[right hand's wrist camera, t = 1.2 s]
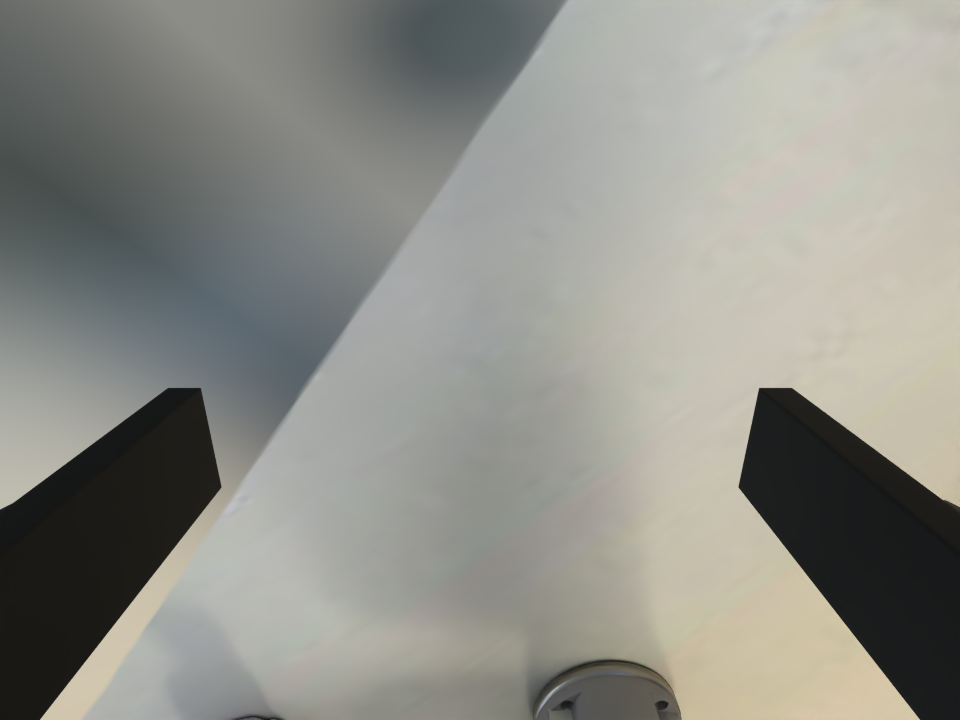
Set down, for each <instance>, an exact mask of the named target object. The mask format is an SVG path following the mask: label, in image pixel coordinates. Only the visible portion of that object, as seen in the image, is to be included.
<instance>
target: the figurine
mask: <svg viewBox="0 0 960 720" xmlns="http://www.w3.org/2000/svg"><path fill="white" fill-rule="evenodd" d="M240 720H262V719H260V718H255V717H251V718H244V719H240ZM272 720H276V719H272Z"/></svg>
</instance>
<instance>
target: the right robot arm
mask: <svg viewBox="0 0 960 720" xmlns="http://www.w3.org/2000/svg"><path fill="white" fill-rule="evenodd" d="M220 489H221V482H220V478H219V473H218V468H217V464H216V459H215V454H214V449H213V445H212V440H211V435H210V430H209V425H208V420H207V416H206V411H205V406H204V401H203V397H202V392H201V388H168V389H166V390H165V391H164V392H162V393H161V394H159V395H158V396H157V397H155V398H154V399H153V400H151V401H150V402H149V403H147V404H146V405H145V406H143V407H142V408H141V409H139V410H138V411H137V412H135V413H134V414H133V415H131V416H130V417H129V418H127V419H126V420H124V421H123V422H122V423H120V424H119V425H118V426H116V427H115V428H114V429H112V430H111V431H110V432H108V433H107V434H106V435H104V436H103V437H102V438H100V439H99V440H98V441H96V442H95V443H93V444H92V445H91V446H89V447H88V448H87V449H85V450H84V451H83V452H81V453H80V454H79V455H77V456H76V457H75V458H73V459H72V460H71V461H69V462H68V463H67V464H65V465H64V466H62V467H61V468H60V469H58V470H57V471H56V472H54V473H53V474H52V475H50V476H49V477H48V478H46V479H45V480H44V481H42V482H41V483H40V484H38V485H37V486H36V487H34V488H33V489H32V490H30V491H29V492H28V493H26V494H25V495H23V496H22V497H21V498H19V499H18V500H17V501H15V502H14V503H13V504H10V505H8V506H6V507H4V508H2V509H0V720H40V719H41V718H42V716H43V715H44V714H45V712H46V711H47V710H48V709H49V707H50V706H51V705H52V704H53V702H54V701H55V700H56V698H57V697H58V696H59V695H60V693H61V692H62V691H63V689H64V688H65V687H66V686H67V684H68V683H69V682H70V680H71V679H72V678H73V677H74V675H75V674H76V673H77V672H78V670H79V669H80V668H81V666H82V665H83V664H84V663H85V661H86V660H87V659H88V657H89V656H90V655H91V654H92V652H93V651H94V650H95V648H96V647H97V646H98V645H99V643H100V642H101V641H102V640H103V638H104V637H105V636H106V634H107V633H108V632H109V631H110V629H111V628H112V627H113V625H114V624H115V623H116V622H117V620H118V619H119V618H120V616H121V615H122V614H123V613H124V611H125V610H126V609H127V608H128V606H129V605H130V604H131V602H132V601H133V600H134V599H135V597H136V596H137V595H138V593H139V592H140V591H141V590H142V588H143V587H144V586H145V584H146V583H147V582H148V581H149V579H150V578H151V577H152V576H153V574H154V573H155V572H156V570H157V569H158V568H159V567H160V565H161V564H162V563H163V561H164V560H165V559H166V558H167V556H168V555H169V554H170V553H171V551H172V550H173V549H174V547H175V546H176V545H177V544H178V542H179V541H180V540H181V538H182V537H183V536H184V535H185V533H186V532H187V531H188V529H189V528H190V527H191V526H192V524H193V523H194V522H195V521H196V519H197V518H198V517H199V515H200V514H201V513H202V512H203V510H204V509H205V508H206V506H207V505H208V504H209V503H210V501H211V500H212V499H213V498H214V496H215V495H216V494H217V492H218V491H219V490H220ZM739 489H740V490H741V491H742V492H743V494H744V495H745V496H746V498H747V499H748V500H749V501H750V503H751V504H752V505H753V506H754V508H755V509H756V510H757V512H758V513H759V514H760V515H761V517H762V518H763V519H764V521H765V522H766V523H767V524H768V526H769V527H770V528H771V529H772V531H773V532H774V533H775V535H776V536H777V537H778V538H779V540H780V541H781V542H782V544H783V545H784V546H785V547H786V549H787V550H788V551H789V553H790V554H791V555H792V556H793V558H794V559H795V560H796V561H797V563H798V564H799V565H800V567H801V568H802V569H803V570H804V572H805V573H806V574H807V576H808V577H809V578H810V579H811V581H812V582H813V583H814V585H815V586H816V587H817V588H818V590H819V591H820V592H821V593H822V595H823V596H824V597H825V599H826V600H827V601H828V602H829V604H830V605H831V606H832V608H833V609H834V610H835V611H836V613H837V614H838V615H839V617H840V618H841V619H842V620H843V622H844V623H845V624H846V625H847V627H848V628H849V629H850V631H851V632H852V633H853V634H854V636H855V637H856V638H857V640H858V641H859V642H860V643H861V645H862V646H863V647H864V648H865V650H866V651H867V652H868V654H869V655H870V656H871V657H872V659H873V660H874V661H875V663H876V664H877V665H878V666H879V668H880V669H881V670H882V672H883V673H884V674H885V675H886V677H887V678H888V679H889V680H890V682H891V683H892V684H893V686H894V687H895V688H896V689H897V691H898V692H899V693H900V695H901V696H902V697H903V698H904V700H905V701H906V702H907V704H908V705H909V706H910V707H911V709H912V710H913V711H914V712H915V714H916V715H917V716H918V718H919V719H920V720H960V507H958V506H956V505H954V504H952V503H950V502H948V501H946V500H942V499H941V498H939V497H938V496H937V495H935V494H934V493H933V492H931V491H930V490H928V489H927V488H926V487H924V486H923V485H922V484H920V483H919V482H918V481H916V480H915V479H914V478H912V477H911V476H910V475H908V474H907V473H906V472H904V471H903V470H902V469H900V468H899V467H898V466H896V465H895V464H893V463H892V462H891V461H889V460H888V459H887V458H885V457H884V456H883V455H881V454H880V453H879V452H877V451H876V450H875V449H873V448H872V447H871V446H869V445H868V444H867V443H865V442H864V441H862V440H861V439H860V438H858V437H857V436H856V435H854V434H853V433H852V432H850V431H849V430H848V429H846V428H845V427H844V426H842V425H841V424H840V423H838V422H837V421H836V420H834V419H833V418H832V417H830V416H829V415H827V414H826V413H825V412H823V411H822V410H821V409H819V408H818V407H817V406H815V405H814V404H813V403H811V402H810V401H809V400H807V399H806V398H805V397H803V396H802V395H801V394H799V393H798V392H796V391H795V390H794V389H792V388H759V392H758V397H757V401H756V406H755V411H754V416H753V420H752V425H751V430H750V435H749V440H748V444H747V449H746V454H745V459H744V463H743V468H742V473H741V478H740V482H739ZM533 718H534V720H682V718H681V712H680V709H679V706H678V703H677V700H676V698H675V695H674V693H673V691H672V689H671V687H670V686H669V684H668V683H667V682H666V681H665V680H664V679H663V678H662V677H660V676H659V675H658V674H656V673H654V672H653V671H651V670H649V669H647V668H644V667H641V666H638V665H635V664H630V663H624V662H598V663H591V664H587V665H583V666H580V667H577V668H574V669H572V670H569V671H567V672H565V673H563V674H561V675H560V676H558V677H557V678H555V679H554V680H553V681H551V682H550V683H549V684H548V685H547V686H546V687H545V688H544V689H543V691H542V692H541V693H540V695H539V697H538V698H537V701H536V703H535V707H534V713H533Z"/></svg>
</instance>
